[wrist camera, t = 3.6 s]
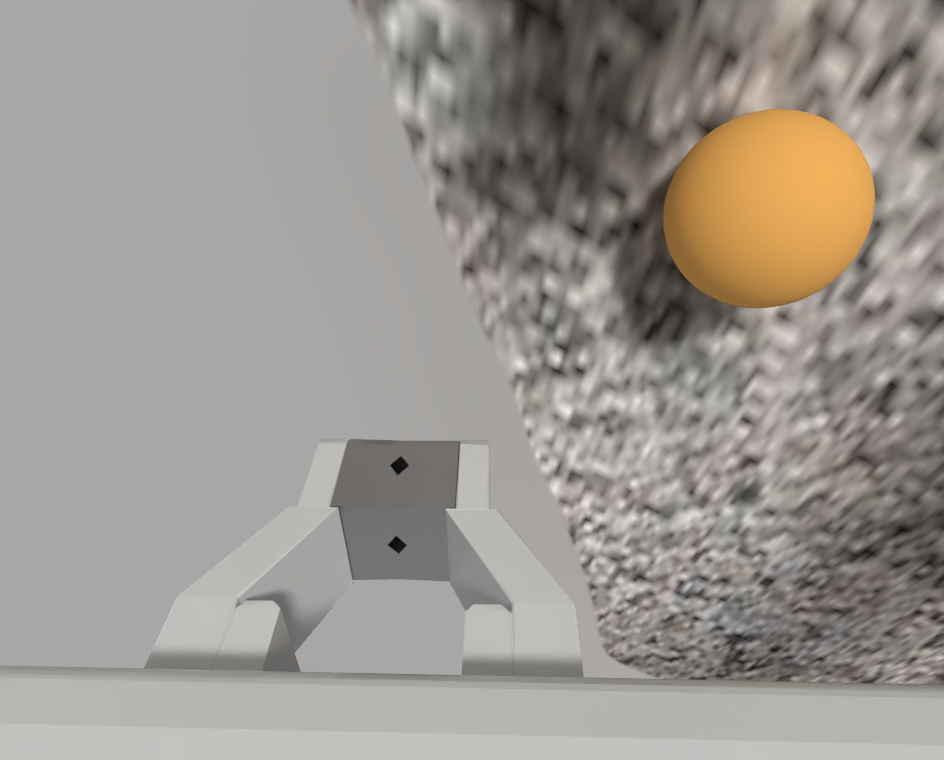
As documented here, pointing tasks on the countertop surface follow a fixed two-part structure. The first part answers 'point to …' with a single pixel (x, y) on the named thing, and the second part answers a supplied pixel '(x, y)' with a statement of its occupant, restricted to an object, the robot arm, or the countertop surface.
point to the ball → (768, 208)
